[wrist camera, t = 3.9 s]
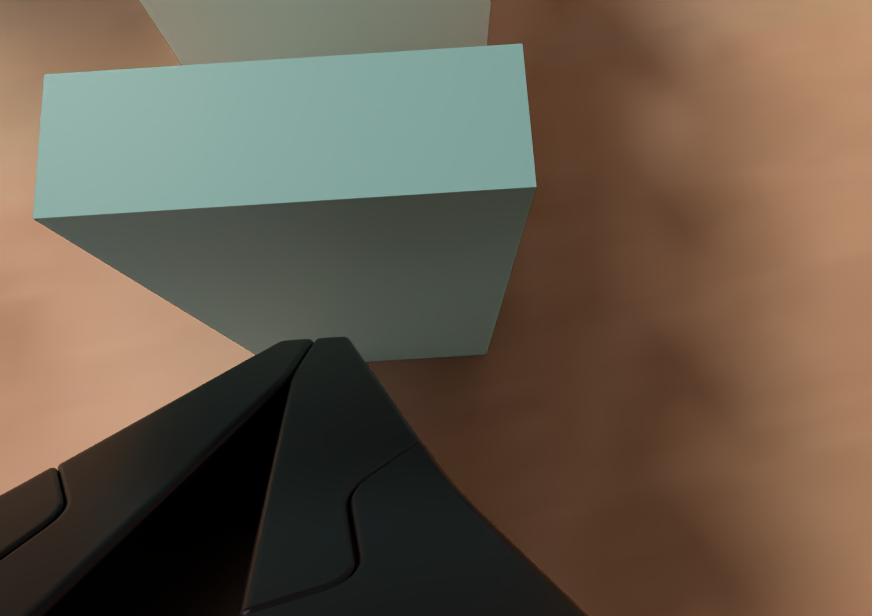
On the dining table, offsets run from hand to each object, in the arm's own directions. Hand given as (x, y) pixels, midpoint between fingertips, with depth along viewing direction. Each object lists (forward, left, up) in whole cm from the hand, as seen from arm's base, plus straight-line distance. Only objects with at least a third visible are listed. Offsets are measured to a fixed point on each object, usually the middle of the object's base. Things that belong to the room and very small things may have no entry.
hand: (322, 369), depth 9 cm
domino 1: (+2, -1, -8) cm, 8 cm away
